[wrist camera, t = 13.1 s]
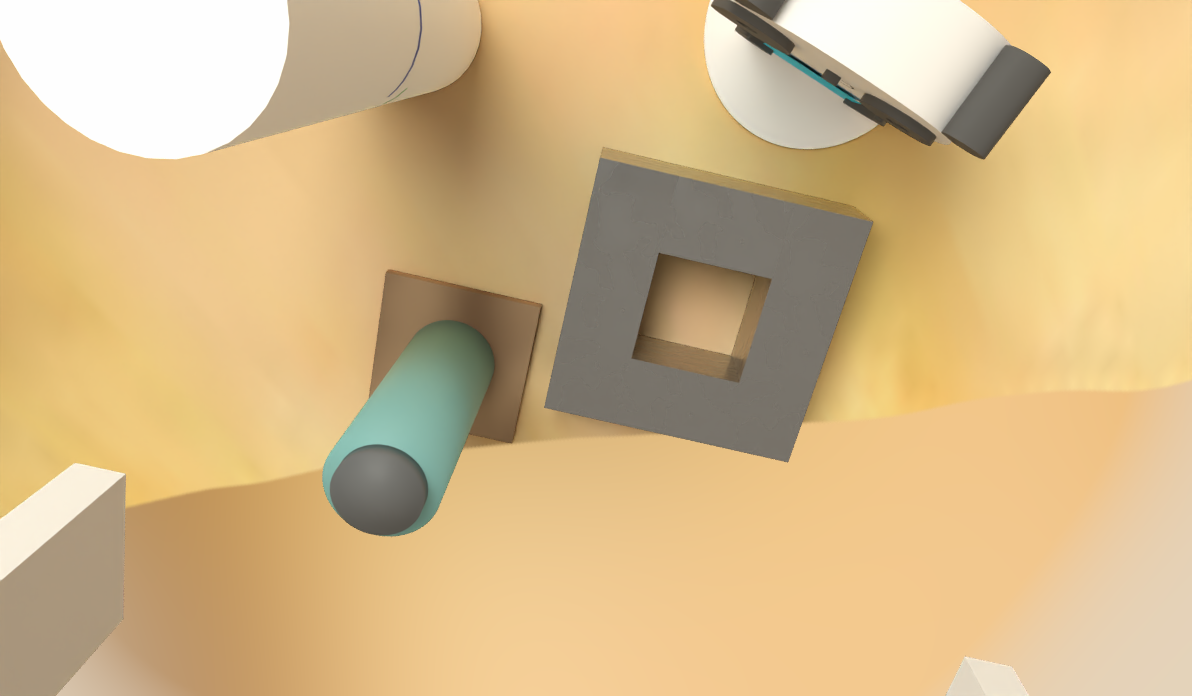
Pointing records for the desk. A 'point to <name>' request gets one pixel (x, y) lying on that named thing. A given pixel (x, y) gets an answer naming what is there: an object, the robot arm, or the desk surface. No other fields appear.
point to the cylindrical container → (229, 64)
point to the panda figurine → (866, 71)
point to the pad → (490, 314)
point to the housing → (716, 237)
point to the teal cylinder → (410, 432)
